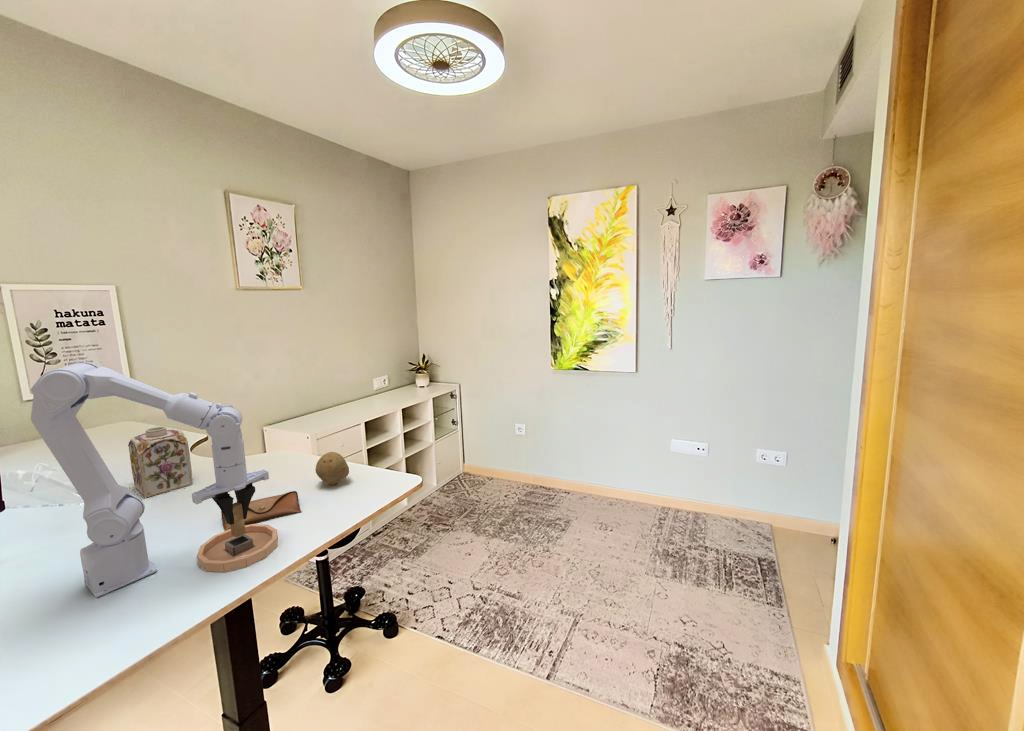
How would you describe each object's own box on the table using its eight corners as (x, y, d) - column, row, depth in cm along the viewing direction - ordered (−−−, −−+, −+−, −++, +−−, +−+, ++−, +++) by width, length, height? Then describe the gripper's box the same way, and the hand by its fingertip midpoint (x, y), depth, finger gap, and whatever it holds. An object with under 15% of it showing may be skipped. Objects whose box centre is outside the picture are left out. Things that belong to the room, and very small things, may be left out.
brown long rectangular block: (235, 537, 93) (232, 507, 92) (231, 534, 94) (227, 505, 93) (245, 533, 95) (241, 503, 94) (241, 530, 96) (237, 501, 95)
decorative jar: (144, 499, 118) (135, 437, 115) (133, 487, 125) (124, 429, 122) (195, 484, 128) (187, 427, 125) (182, 474, 135) (175, 419, 132)
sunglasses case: (222, 533, 102) (219, 505, 104) (223, 535, 107) (220, 508, 109) (303, 511, 112) (300, 486, 114) (301, 514, 118) (297, 490, 119)
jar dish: (217, 581, 85) (216, 572, 85) (186, 555, 93) (185, 547, 93) (290, 545, 97) (289, 537, 97) (257, 525, 106) (256, 518, 105)
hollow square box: (233, 557, 92) (232, 549, 92) (223, 549, 95) (222, 542, 94) (255, 546, 96) (254, 539, 96) (245, 540, 98) (244, 533, 98)
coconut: (312, 482, 129) (309, 451, 127) (341, 474, 135) (339, 444, 133) (322, 493, 122) (319, 460, 121) (352, 484, 128) (350, 453, 127)
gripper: (199, 479, 84) (207, 541, 86) (273, 456, 96) (278, 511, 98) (184, 470, 87) (192, 531, 90) (257, 449, 99) (263, 503, 102)
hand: (236, 520), depth 94 cm, fingers closed on brown long rectangular block, 2 cm apart
